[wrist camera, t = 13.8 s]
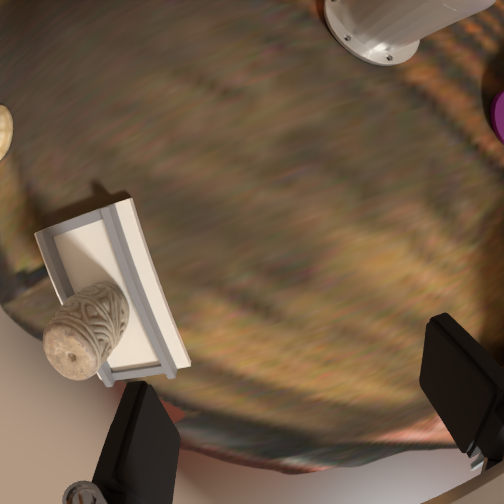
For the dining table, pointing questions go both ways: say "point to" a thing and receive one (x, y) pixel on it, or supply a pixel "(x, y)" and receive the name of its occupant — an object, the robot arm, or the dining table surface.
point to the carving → (86, 330)
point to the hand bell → (5, 130)
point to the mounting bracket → (498, 115)
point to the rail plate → (125, 278)
